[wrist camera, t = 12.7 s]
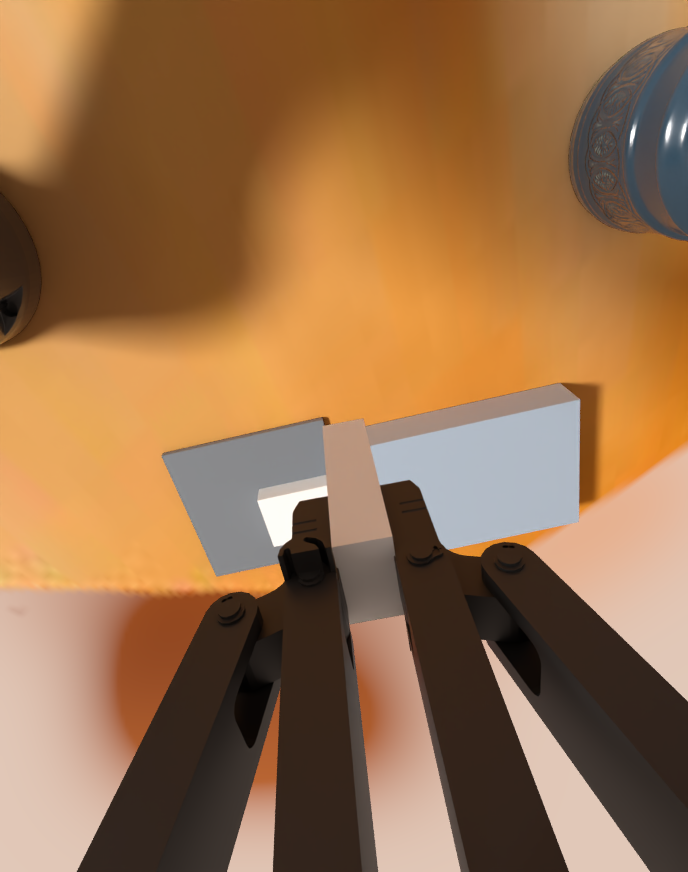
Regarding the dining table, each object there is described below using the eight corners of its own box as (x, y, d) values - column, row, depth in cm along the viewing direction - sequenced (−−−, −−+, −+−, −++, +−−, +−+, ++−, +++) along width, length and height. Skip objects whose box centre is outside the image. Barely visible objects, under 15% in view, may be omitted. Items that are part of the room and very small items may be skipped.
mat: (217, 572, 56) (216, 576, 55) (163, 453, 48) (161, 456, 48) (355, 543, 55) (356, 546, 54) (322, 417, 48) (322, 419, 47)
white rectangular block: (275, 534, 53) (274, 547, 51) (259, 489, 50) (257, 500, 48) (357, 517, 53) (358, 529, 51) (345, 470, 50) (346, 481, 48)
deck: (364, 541, 55) (368, 566, 51) (337, 432, 48) (339, 452, 45) (561, 499, 54) (578, 521, 50) (559, 382, 48) (580, 399, 44)
